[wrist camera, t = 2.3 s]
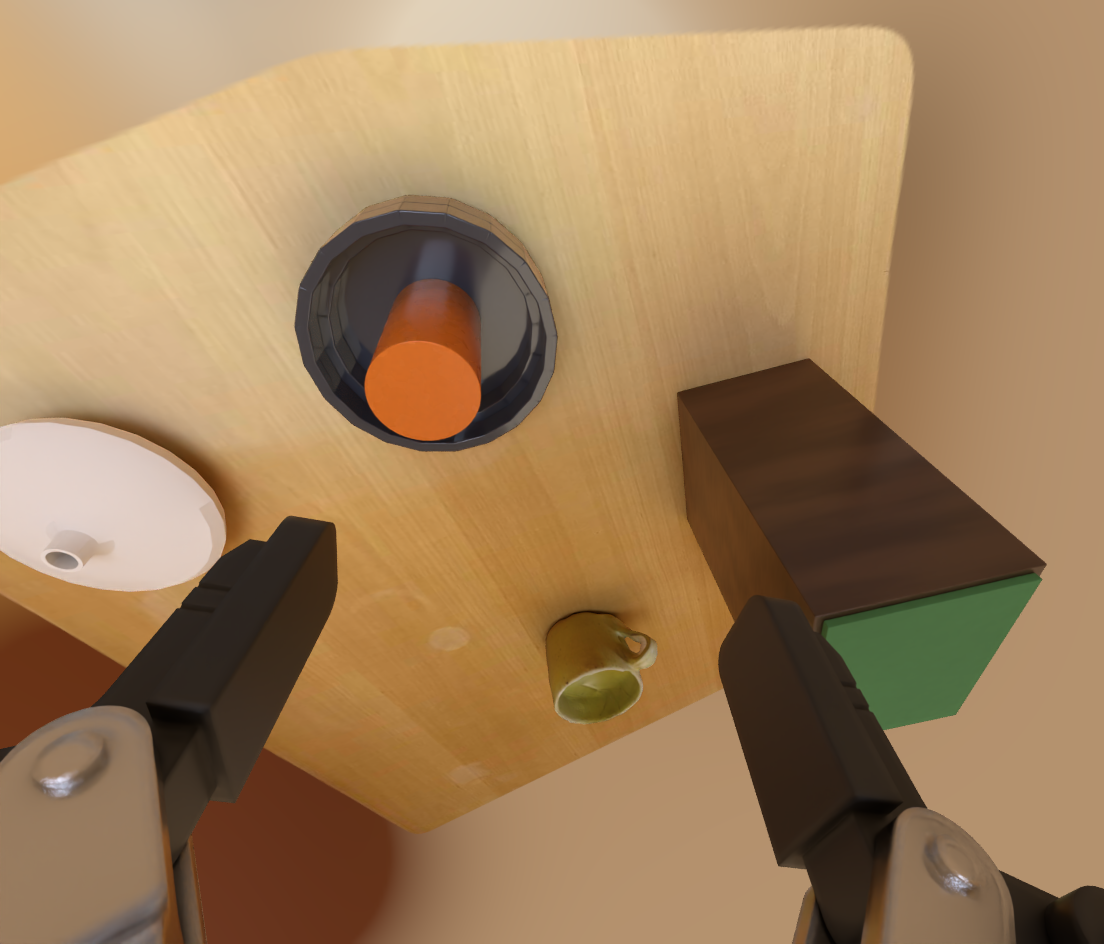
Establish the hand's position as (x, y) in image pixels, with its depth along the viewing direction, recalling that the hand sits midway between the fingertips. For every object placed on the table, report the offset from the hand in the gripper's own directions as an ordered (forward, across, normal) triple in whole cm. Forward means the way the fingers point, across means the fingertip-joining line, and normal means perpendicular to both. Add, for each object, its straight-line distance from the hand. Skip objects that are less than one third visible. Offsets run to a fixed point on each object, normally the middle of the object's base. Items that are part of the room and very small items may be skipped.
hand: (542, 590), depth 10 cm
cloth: (+10, -21, +12) cm, 26 cm away
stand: (+30, -18, +10) cm, 36 cm away
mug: (+31, -12, +35) cm, 48 cm away
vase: (+24, +29, +20) cm, 42 cm away
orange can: (+25, +7, +3) cm, 26 cm away
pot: (+25, +7, +3) cm, 26 cm away
